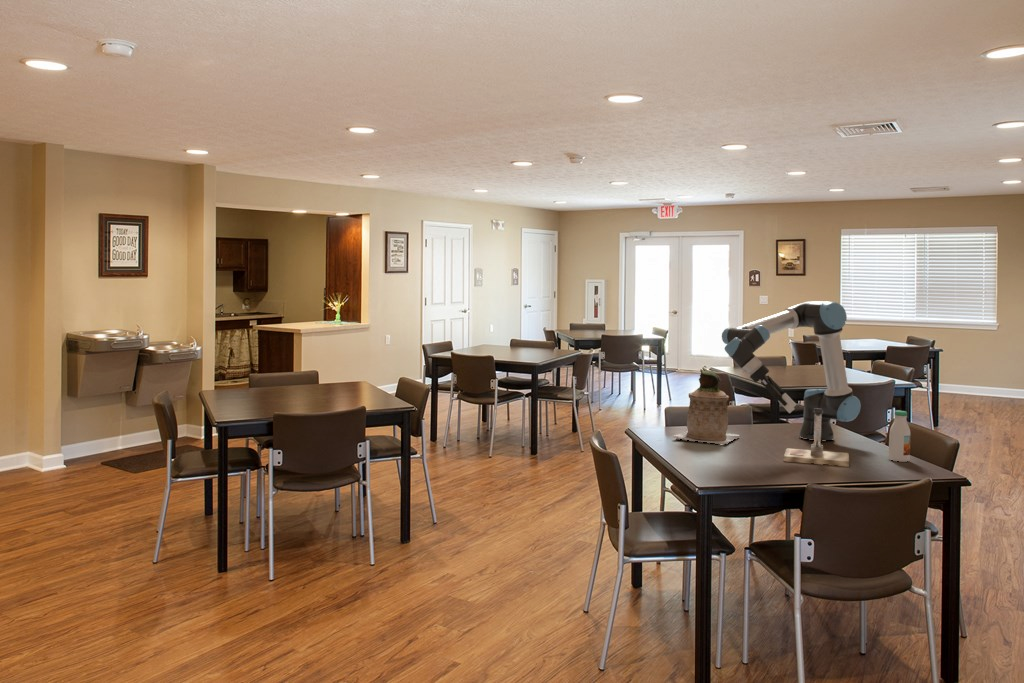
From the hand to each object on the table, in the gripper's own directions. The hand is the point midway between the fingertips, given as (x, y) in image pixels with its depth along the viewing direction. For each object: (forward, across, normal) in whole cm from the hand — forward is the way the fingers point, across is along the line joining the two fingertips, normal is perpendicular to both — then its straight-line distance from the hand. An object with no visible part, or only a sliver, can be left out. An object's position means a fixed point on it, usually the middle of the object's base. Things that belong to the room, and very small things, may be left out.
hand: (793, 408), depth 329 cm
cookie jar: (-12, -27, -41) cm, 51 cm away
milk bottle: (+43, -13, +14) cm, 47 cm away
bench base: (+21, 0, -7) cm, 22 cm away
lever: (+19, 0, -5) cm, 20 cm away
